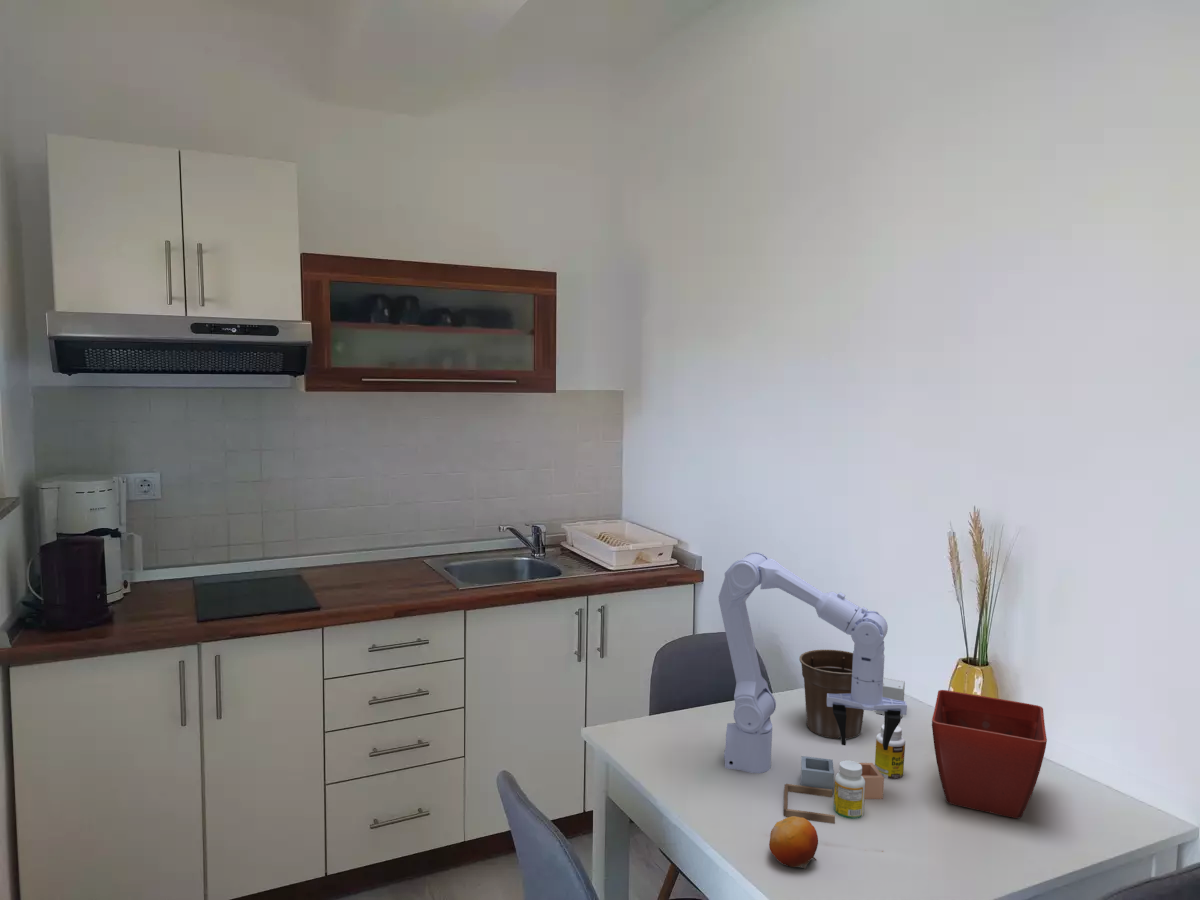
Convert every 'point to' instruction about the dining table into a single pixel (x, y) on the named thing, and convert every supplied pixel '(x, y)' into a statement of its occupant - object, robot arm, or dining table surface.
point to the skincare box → (893, 690)
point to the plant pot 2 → (988, 751)
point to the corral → (805, 814)
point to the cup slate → (817, 772)
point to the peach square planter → (872, 781)
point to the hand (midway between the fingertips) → (864, 745)
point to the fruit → (793, 841)
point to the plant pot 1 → (828, 691)
